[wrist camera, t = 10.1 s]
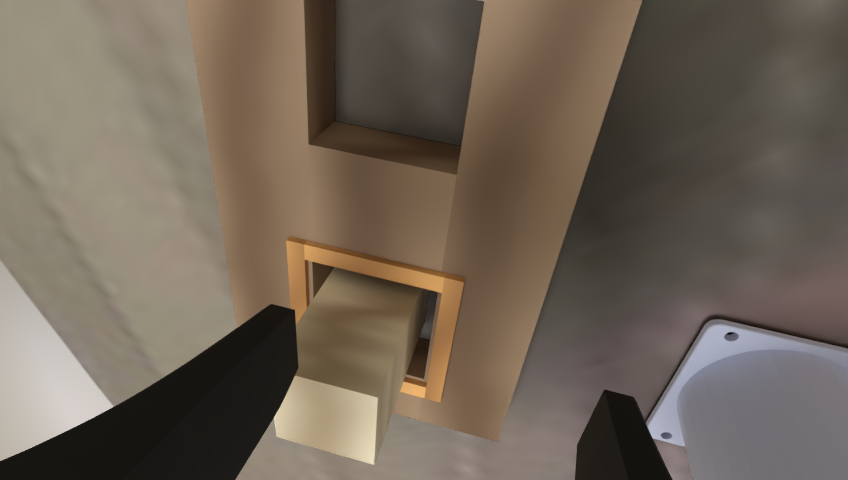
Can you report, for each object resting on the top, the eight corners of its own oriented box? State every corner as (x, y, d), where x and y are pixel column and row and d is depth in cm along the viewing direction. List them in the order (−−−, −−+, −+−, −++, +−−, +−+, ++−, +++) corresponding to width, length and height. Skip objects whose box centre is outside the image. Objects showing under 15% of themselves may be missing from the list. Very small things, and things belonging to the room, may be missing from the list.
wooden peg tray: (664, -114, 14) (683, -119, 11) (502, 402, 27) (496, 447, 24) (211, -166, 16) (150, -181, 13) (267, 339, 29) (241, 375, 26)
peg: (431, 260, 23) (377, 397, 16) (424, 322, 25) (374, 464, 19) (350, 242, 23) (267, 368, 17) (350, 305, 26) (276, 436, 19)
